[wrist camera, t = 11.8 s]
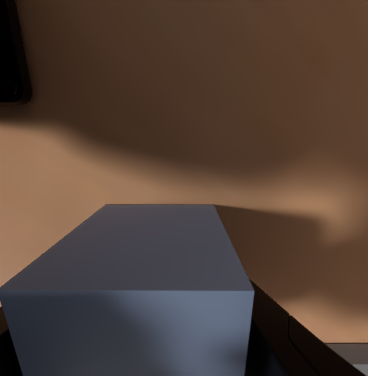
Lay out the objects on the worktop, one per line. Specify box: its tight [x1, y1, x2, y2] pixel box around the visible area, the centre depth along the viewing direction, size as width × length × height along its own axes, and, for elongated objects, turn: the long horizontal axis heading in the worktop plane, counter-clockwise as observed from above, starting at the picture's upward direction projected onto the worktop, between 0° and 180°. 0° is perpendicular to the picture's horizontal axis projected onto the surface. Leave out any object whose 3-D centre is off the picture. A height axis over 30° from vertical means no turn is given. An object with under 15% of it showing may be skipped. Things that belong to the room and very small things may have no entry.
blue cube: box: [0, 204, 254, 376], centre depth 7 cm, size 5×5×5 cm
